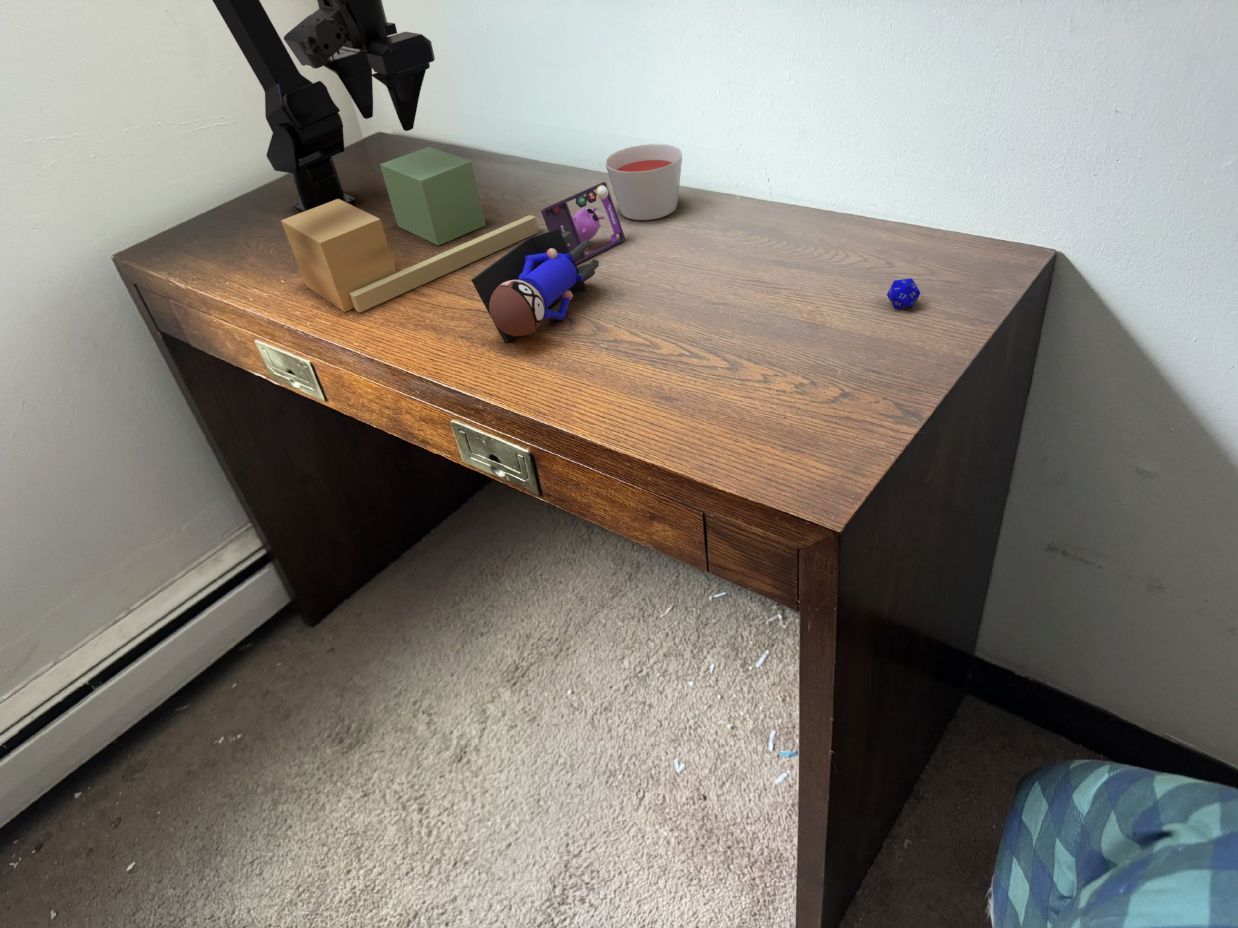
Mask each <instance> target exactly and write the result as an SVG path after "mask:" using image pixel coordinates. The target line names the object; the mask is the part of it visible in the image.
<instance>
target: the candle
mask: <svg viewBox="0 0 1238 928" xmlns="http://www.w3.org/2000/svg"><path fill="white" fill-rule="evenodd" d="M682 163H683V151H682V150H681V149H680V148H679V147H677V146H674V145H670V144H666V143H665V144H664V143H645V144H637V145H633V146H627V147H625V148H622V149H619V150H617V151H615V152H613V153H611V154H610V155H608V156H607V158H606V159H605V161H604V165H605V169H606V172H607V174H608V177H609V181H610V185H611V187H612V191H613V194H614V197H615V200H616V203H617V206H618V210H619V212H620V214H621V216H623V217H624V218H626V219H629V220H633V221H651V220H657V219H661V218H664V217H667V216H668V215H671V214H673V212H675V210H676V209H677V207H678V203H679V195H680V186H681V185H680V183H681V174H682Z"/></svg>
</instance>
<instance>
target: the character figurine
mask: <svg viewBox="0 0 1238 928" xmlns="http://www.w3.org/2000/svg"><path fill="white" fill-rule="evenodd" d="M572 240H573V237H572V235H571V233H570V232H569V231H568V232H564V233H561V232H560V230H559V229H556V230H553V231H549V232H548V231H547V232H543V233H541V234H537V235H533V236H530V237H528V238H525V239H524V240H522V242H520V243H519V244H518V245H516V246H515V247H513V248H512V249H511V250H510V251H508V252H506V253H505V254H504V255H502V257H500V258H499V259H498V260H495V262H493V263H492V264H490V265H489V266H488V267H486V268H485V269H484V270H483V271H481V272H480V273H478V274H477V275H475V276H474V277H473V278H472V279H470V280H471V283H472V284H473V286H474V288H475V290H476V292H477V294H478V296H479V297H480V299H481V301H482V303H483V305H484V307H485V309H486V311H487V313H488V314H489V316H490V318H491V320H492V322H493V324H494V325H495V327H496V329H497V331H498V333H499V335H500V337H501V340H502V341H503V342H504V343H508V342H509V343H510V342H511V340H513V339H514V338H515V337H523V336H527V335H530V334H532V333H533V332H535V331H536V330H537V329H538V328H539V327H540V325H541V323H542V322H543V320H548V319H555V320H558V321H564V320H565V319H566V314H567V310H568V307H569V304H570V301H571V300H573V297H574V295H577V294H581V293H585V292H588V291H589V288H588V287H587V284H586V281H588V280H590V279H591V278H593V276H594V275H595V274H596V270H597V268H599V266H600V260H597V259H593V260H592V261H591V262H590V263H587V264H582V265H579V266H577V264H576V263H575V261H574V260H575V258H576V257H577V256H579V255H580V254H581V253H582V252H585V251H586V250H588V249H589V248H591V247H592V245H591V244H592V240H589V241H588V240H585V241H583V242H582V243H581V244H580V245H578V246H577V247H576V248H575V249H573V250H572V251H571V252H570V251H569V249H568V247H567V244H569V243H570V242H571V241H572ZM560 299H561V302H560V305H559V309H558V311H554V310H550V309H549V308H551V307H552V306H553V305H554V304H555V303H557V302H558V301H559V300H560Z"/></svg>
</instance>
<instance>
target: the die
mask: <svg viewBox="0 0 1238 928" xmlns="http://www.w3.org/2000/svg"><path fill="white" fill-rule="evenodd" d="M920 295H921V291H920V288H919V287H918V286H917V284H916V282H915V281H914V279H913V278H912V277H911V278H903V279H895V280H893V282H892V283H891V285H890V288H889V289H888V291H887V293H886V297H887V298H888V300H889V301H890V303H891V305H892V307H893V309H895V310H901V309H909V308H913V307H914V306H915V304H916V302H917V300H918V299H919V297H920Z"/></svg>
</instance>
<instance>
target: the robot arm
mask: <svg viewBox="0 0 1238 928" xmlns="http://www.w3.org/2000/svg"><path fill="white" fill-rule="evenodd" d="M212 2H213V4H214V5H215V8H216V9H217V11H218V12H219V14H220V16H221V17H222V20H223V21H224V23H225V25H226V27H227V29H228V30H229V32H230V34H231V35H232V37H233V39H234V40H235V42H236V44H237V46H238V48H239V49H240V51H241V53H242V54H243V56H244V59H246V61H247V63H248V65H249V66H250V68H251V70H252V72H253V74H254V75H255V76H256V79H257V81H258V83H259V84H260V86H261V87H262V89H263V91H264V111H265V112H264V114H265V115H264V116H265V120H266V122H267V124H268V126H269V128H270V130H271V132H272V133H271V139H270V140H269V145H268V147H267V152H266V159H267V160H268V161H269V163H270V165H271V167H272V168H273V170H274V171H275V172H280V173H287V174H290V175H291V176H292V180H293V182H294V185H295V188H296V190H297V193H298V196H299V200H300V201H299V202H296V203H293V207H294V209H296V210H297V211H299V212H300V213H302V212H305V211H307V210H310V209H313V208H315V207H318V206H320V205H323V204H326V203H328V202H331V201H334V200H336V199H340V200H342V201H344V202H346V203H348V204H350V205H352V204H355V203H356V198H355V197H353V196H351V195H350V194H347V193H344V190H343V186H342V184H341V181H340V178H339V174H338V172H337V171H338V170H337V168H336V165H335V162H334V159H333V157H334V156H336V155H338V154H342V153H344V152H345V138H344V137H345V136H344V122H343V120H342V117H341V114H340V113H339V112H340V111H341V110H340V108H339V107H338V105H336V103H335V102H334V100H333V99H332V96H331V94H330V92H329V90H328V87H327V86H326V85H325V84H324V83H323V81H321V80H318V81H315V82H312V81H311V80H310V79H308V78H307V77H306V76H304V75H302V74H301V71H299V69H298V67H297V66H296V64H295V62H294V60H293V58H292V56H291V55H290V52H289V51H288V48H287V47H286V45H285V44H284V42H285V43H286V44H287V46H288V47H289V49H290V51H291V52H292V54H293V55H294V56H295V58H296V59H297V61H298V62H299V64H300V65H301V66H303V67H305V66H309V67H311V68H312V69H314V70H315V69H320V68H322V67H324V68H326V69H328V70H329V71H331V72H333V73H335V74H336V75H337V77H338V78H339V80H340V81H341V83H342V84H343V86H344V87H345V89H346V91H347V93H348V94H349V96H350V98H351V99H352V101H353V103H354V105H355V107H357V110H358V111H359V113H360V115H361V117H362V118H363V119H365V120H369V119H371V118H373V116H374V88H373V78H374V79H375V80H377V81H379V82H380V83H381V84H382V85H384V86H385V88H386V89H387V92H388V95H389V97H390V100H391V102H392V105H393V107H394V110H395V113H396V115H397V118H398V121H399V123H400V126H401V127H402V130H403V131H405V132H409V131H411V130H412V131H413V129H414V126H415V122H416V117H417V116H416V115H417V111H418V105H419V100H420V94H421V90H422V86H423V82H424V80H425V79H424V78H425V75H426V71H427V70H429V69H430V68H431V64H430V63H432V62H434V61H435V60H436V58H435V53H434V49H433V44H432V41H431V40H430V39H429V38H427V36H425V35H424V34H422V33H417V32H410V31H402V32H398V30H397V29H398V28H397V25H396V23H395V22H389V21H388V20H387V15H386V12H385V8H384V4H383V0H316V2H317V5H318V9H317V10H315V11H313V13H310V14H309V15H308V16H306V17H305V18H303V20H301V21H300V22H299V23H298V24H296V25H295V26H294V27H293V28H292V29H291V30H290V31H288V32H287V33H285V35H284V36H283V40H284V42H283V40H282V37H281V36H280V35H279V33H278V31H277V30H276V27H275V25H274V24H273V22H272V20H271V18H270V17H269V14H268V13H267V11H266V10H265V8H264V6H263V4H262V2H261V0H212ZM373 72H374V73H373Z"/></svg>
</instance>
